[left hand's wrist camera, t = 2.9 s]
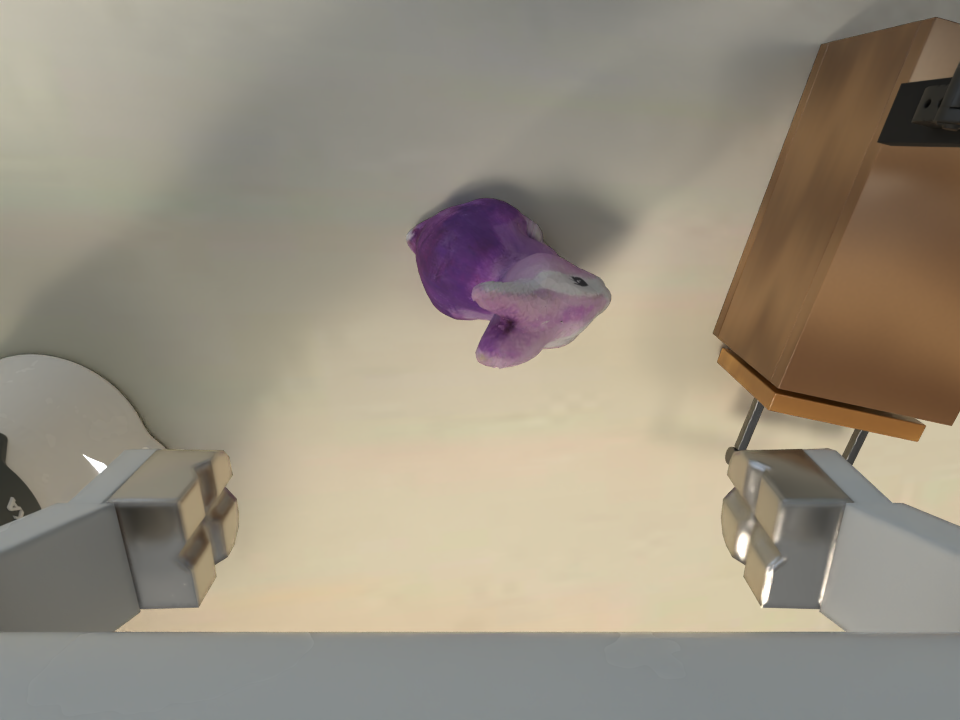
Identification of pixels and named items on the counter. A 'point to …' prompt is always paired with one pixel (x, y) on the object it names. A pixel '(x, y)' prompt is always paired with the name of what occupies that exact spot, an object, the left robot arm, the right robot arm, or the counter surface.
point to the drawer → (812, 410)
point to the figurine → (504, 280)
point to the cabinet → (858, 240)
